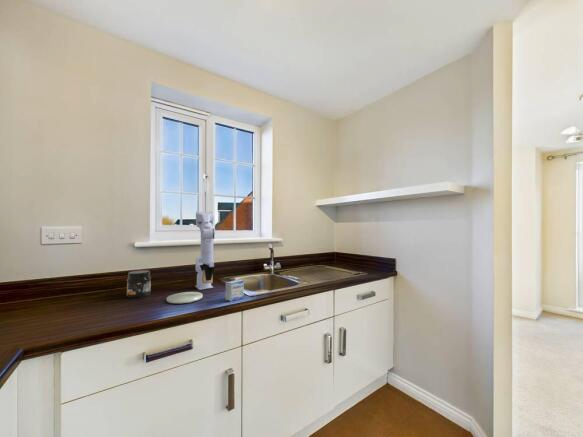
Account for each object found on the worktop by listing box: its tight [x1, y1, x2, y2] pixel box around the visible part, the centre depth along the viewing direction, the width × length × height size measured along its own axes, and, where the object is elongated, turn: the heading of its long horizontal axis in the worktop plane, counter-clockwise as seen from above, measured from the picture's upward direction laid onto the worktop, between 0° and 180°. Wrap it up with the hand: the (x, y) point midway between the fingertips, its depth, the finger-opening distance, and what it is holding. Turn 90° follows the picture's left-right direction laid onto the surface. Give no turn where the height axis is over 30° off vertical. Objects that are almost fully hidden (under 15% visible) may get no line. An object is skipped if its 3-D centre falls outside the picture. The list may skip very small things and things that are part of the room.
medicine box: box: [225, 279, 245, 302], centre depth 119 cm, size 8×4×9 cm, turn 143°
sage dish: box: [166, 291, 204, 304], centre depth 118 cm, size 16×16×2 cm
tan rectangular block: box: [202, 270, 214, 284], centre depth 123 cm, size 4×4×6 cm
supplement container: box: [126, 269, 152, 299], centre depth 126 cm, size 10×10×12 cm
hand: (207, 279), depth 123 cm, fingers closed on tan rectangular block, 4 cm apart
